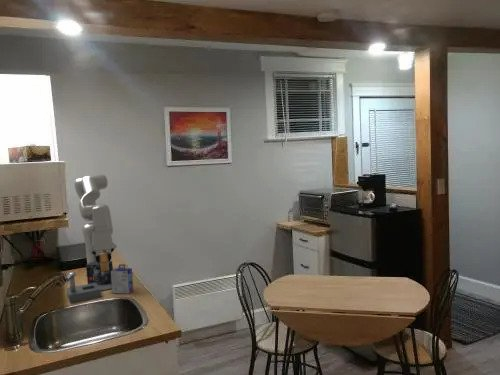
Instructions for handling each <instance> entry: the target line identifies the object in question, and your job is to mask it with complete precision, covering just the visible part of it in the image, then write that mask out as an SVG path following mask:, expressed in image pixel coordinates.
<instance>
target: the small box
mask: <svg viewBox="0 0 500 375" xmlns="http://www.w3.org/2000/svg"><path fill="white" fill-rule="evenodd" d="M108 263H109V270H107V271H101V268H100V263H98V262H90V263H88V264H87V263H86V265H85V266H86V267H85V268H86V269H85V270H86V272H87V276H86V278H87V284H91V283H97V285H98V286H101V285H106V284H111V283H112V279H111V271H112V270H114V268H113V266H114V265H113V260H111V261H109V262H108Z"/></svg>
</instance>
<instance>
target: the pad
mask: <svg viewBox="0 0 500 375" xmlns="http://www.w3.org/2000/svg"><path fill="white" fill-rule="evenodd" d="M98 286H99V288H100V290H101V292H104V291H110V290H112V283H111V284H106V285H98Z"/></svg>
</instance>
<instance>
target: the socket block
mask: <svg viewBox="0 0 500 375" xmlns="http://www.w3.org/2000/svg"><path fill="white" fill-rule="evenodd" d="M99 286H100V285H97V283H91V284H88V283H86V284H81V285H76V280H75V276H74V277H72V278H71V279H70V280H69V287H66V295H67V298H68V301H69V303H70V304H72V303H77V302H82V301H86V300H92V299H98V298H101V297H102V293H101V292H102V291H101V290H100V288H99Z"/></svg>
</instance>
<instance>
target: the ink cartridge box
mask: <svg viewBox="0 0 500 375" xmlns="http://www.w3.org/2000/svg"><path fill="white" fill-rule="evenodd" d="M111 279H112V289H111V290H112V291H111V292H112V294H130V293H132V292H134V281H133V280H134V279H133V269H132V267H129V268H127V267H126V264H124V263H123V264H122V263H121V264H120V263H119V265H118V268H113V270H112V271H111Z"/></svg>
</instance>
